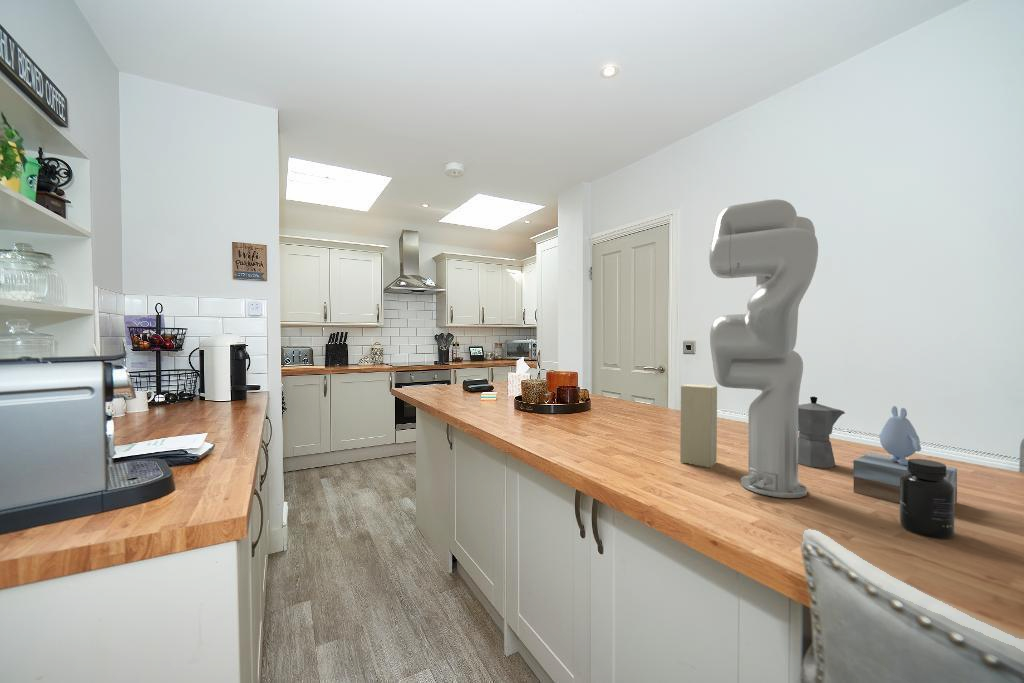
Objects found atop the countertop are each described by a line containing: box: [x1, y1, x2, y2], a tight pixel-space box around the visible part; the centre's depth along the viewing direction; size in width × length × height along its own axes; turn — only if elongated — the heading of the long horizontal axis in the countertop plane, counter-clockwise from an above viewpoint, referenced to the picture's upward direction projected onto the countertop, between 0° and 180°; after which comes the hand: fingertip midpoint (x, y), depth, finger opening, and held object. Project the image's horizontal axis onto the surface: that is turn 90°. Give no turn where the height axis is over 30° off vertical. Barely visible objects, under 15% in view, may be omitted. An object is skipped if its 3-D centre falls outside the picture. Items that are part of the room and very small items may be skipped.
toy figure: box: [879, 405, 922, 466], centre depth 89 cm, size 11×6×12 cm, turn 173°
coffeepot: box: [798, 396, 846, 469], centre depth 113 cm, size 15×9×18 cm, turn 44°
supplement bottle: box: [899, 458, 956, 540], centre depth 73 cm, size 7×7×12 cm
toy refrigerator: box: [679, 383, 718, 468], centre depth 114 cm, size 8×7×21 cm
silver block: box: [853, 452, 958, 505], centre depth 88 cm, size 10×14×7 cm
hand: (772, 343), depth 114 cm, fingers open, 9 cm apart
